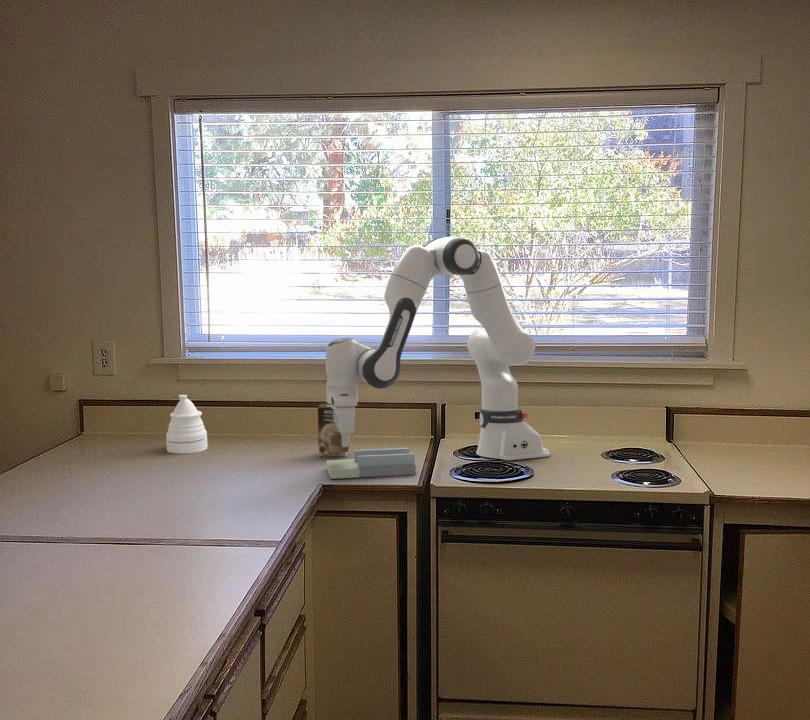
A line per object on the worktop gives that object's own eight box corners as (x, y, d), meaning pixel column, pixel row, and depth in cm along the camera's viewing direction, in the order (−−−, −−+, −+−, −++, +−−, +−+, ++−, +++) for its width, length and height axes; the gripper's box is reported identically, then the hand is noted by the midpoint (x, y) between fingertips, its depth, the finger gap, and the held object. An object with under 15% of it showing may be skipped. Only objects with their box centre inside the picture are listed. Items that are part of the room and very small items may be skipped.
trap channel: (407, 465, 233) (407, 446, 233) (415, 474, 222) (415, 455, 221) (326, 468, 229) (326, 450, 228) (330, 478, 217) (330, 459, 217)
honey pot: (201, 453, 251) (198, 397, 248) (161, 453, 251) (158, 398, 248) (212, 443, 263) (209, 390, 261) (173, 444, 264) (170, 391, 261)
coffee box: (317, 458, 244) (316, 407, 241) (321, 453, 250) (320, 403, 248) (347, 458, 243) (345, 407, 240) (350, 453, 249) (349, 403, 247)
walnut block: (346, 447, 226) (345, 430, 226) (348, 451, 221) (347, 434, 221) (328, 448, 225) (328, 431, 225) (330, 452, 220) (330, 435, 220)
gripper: (327, 391, 231) (329, 437, 233) (334, 401, 211) (336, 452, 213) (349, 390, 233) (350, 436, 234) (358, 400, 213) (359, 451, 214)
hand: (343, 444), depth 223 cm, fingers closed on walnut block, 5 cm apart
